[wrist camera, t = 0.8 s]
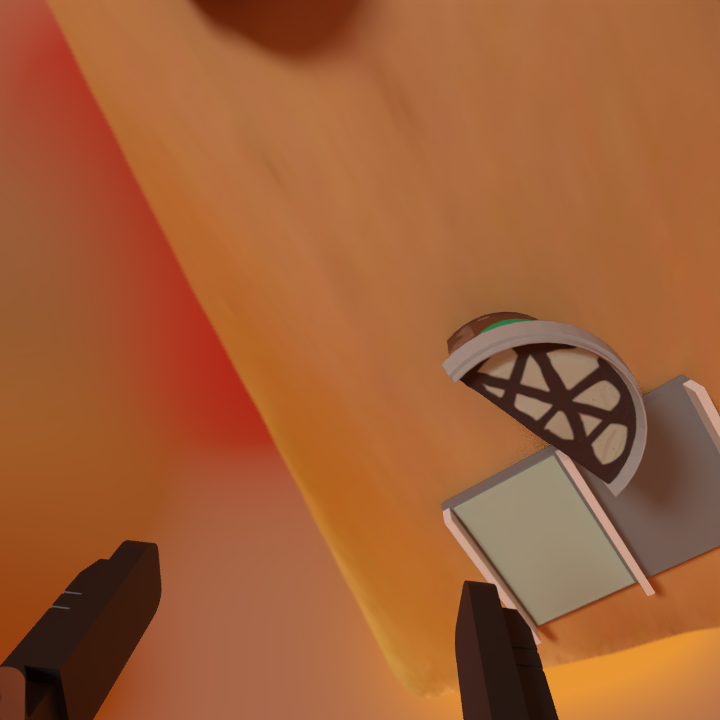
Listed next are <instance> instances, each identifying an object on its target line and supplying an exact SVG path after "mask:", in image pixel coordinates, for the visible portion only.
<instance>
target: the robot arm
mask: <svg viewBox="0 0 720 720" xmlns="http://www.w3.org/2000/svg"><path fill="white" fill-rule="evenodd" d="M160 598H161V577H160V565H159V553H158V547H157V545H156V544H155V543H148V542H139V541H130V540H127V541H124V542H123V543H122V544H121V545H120V546H119V548H118V549H117V550H116V551H115V553H114V554H113V555H112V556H111V557H110V559H109V560H106V559H99V560H98V561H97V562H95V563H93V564H92V565H90V566H89V567H87V568H86V569H85V570H83V571H82V572H80V573H79V574H78V576H77V577H76V578H75V579H74V580H73V581H72V582H71V584H70V585H69V586H68V587H67V588H66V590H65V592H64V594H61V595H60V596H59V598H58V599H57V600H56V601H55V602H54V603H53V606H52V608H49V609H48V611H47V612H46V613H45V614H44V615H43V616H42V618H41V619H40V620H39V621H38V622H37V623H36V625H35V626H34V627H33V628H32V629H31V630H30V632H29V633H28V634H27V635H26V636H25V637H24V639H23V640H22V641H21V642H20V643H19V644H18V646H17V647H16V648H15V649H14V650H13V651H12V653H11V654H10V655H9V656H8V657H7V658H6V660H5V661H4V662H3V663H2V664H1V665H0V720H93V719H94V717H95V715H96V713H97V712H98V710H99V708H100V707H101V705H102V703H103V702H104V700H105V698H106V697H107V695H108V693H109V691H110V690H111V688H112V687H113V685H114V683H115V681H116V680H117V678H118V676H119V675H120V673H121V671H122V669H123V668H124V666H125V664H126V662H127V661H128V659H129V658H130V656H131V654H132V652H133V651H134V649H135V647H136V646H137V644H138V642H139V641H140V639H141V637H142V636H143V634H144V632H145V630H146V629H147V627H148V625H149V624H150V622H151V620H152V619H153V617H154V615H155V613H156V611H157V608H158V605H159V602H160ZM455 652H456V661H457V669H458V678H459V686H460V694H461V702H462V711H463V719H464V720H559V719H558V716H557V713H556V709H555V706H554V703H553V700H552V696H551V693H550V690H549V686H548V683H547V680H546V676H545V673H544V671H543V666H542V663H541V660H540V657H539V654H538V653H537V647H536V643H535V640H534V637H533V633H532V630H531V628H530V626H529V625H528V624H527V622H526V621H525V620H524V618H523V617H522V616H521V614H520V613H519V611H518V610H517V609H510V608H502V606H501V602H500V598H499V594H498V590H497V587H496V585H495V584H492V583H483V582H475V581H465V582H464V584H463V589H462V595H461V601H460V606H459V612H458V617H457V623H456V631H455Z"/></svg>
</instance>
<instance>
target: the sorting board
mask: <svg viewBox="0 0 720 720" xmlns="http://www.w3.org/2000/svg"><path fill="white" fill-rule="evenodd" d="M642 397H643V401H644V404H645V409H646V420H647V437H646V445H645V449H644V453H643V456H642V459H641V462H640V464H639V466H638V468H637V470H636V472H635V474H634V475H633V477H632V478H631V480H630V481H629V483H628V484H627V486H626V487H625V488H624V489H623V490H622V491H621V492H620V493H619V495H618V496H617V497H615V496H614V494H613V493H612V492H611V491H610V490H609V488H608V487H607V486H606V485H605V484H604V482H603V481H602V480H601V479H600V478H598V477H597V476H596V475H594V474H593V473H591V472H590V471H588V470H587V469H586V468H584V467H583V466H581V465H580V464H578V463H577V462H576V461H574V460H573V459H571V458H570V457H568V456H567V455H566V454H564V453H563V452H561V451H560V450H558V449H557V448H555V447H554V446H552V445H550V446H548V447H546V448H545V449H543V450H541V451H539V452H537V453H535V454H533V455H531V456H530V457H528V458H526V459H524V460H522V461H520V462H518V463H517V464H515V465H513V466H511V467H509V468H507V469H505V470H503V471H502V472H500V473H498V474H496V475H494V476H492V477H490V478H489V479H487V480H485V481H483V482H481V483H479V484H477V485H475V486H474V487H472V488H470V489H468V490H466V491H464V492H462V493H461V494H459V495H457V496H455V497H453V498H451V499H449V500H447V501H446V502H444V503H442V510H443V516H444V522H445V524H446V526H447V527H448V528H449V530H450V531H451V532H452V534H453V535H454V537H455V538H456V539H457V541H458V542H459V543H460V545H461V546H462V547H463V549H464V550H465V551H466V553H467V554H468V555H469V557H470V558H471V559H472V561H473V562H474V564H475V565H476V566H477V568H478V569H479V570H480V572H481V573H482V574H483V576H484V577H485V578H486V580H487V581H488V582H489V583H492V584H495V585H496V587H497V590H498V594H499V597H500V599H501V600H502V601H503V603H504V604H505V605H506V607H507V608H510V609H517V610H518V611H519V613H520V614H521V616H522V617H523V618H524V620H525V621H526V622H527V624H528V625H529V626H530V628H531V630H532V633H533V637H534V640H535V643H536V645H538V644H540V643H542V642H541V639H540V636H539V633H538V630H537V627H538V626H540V625H543V624H545V623H547V622H549V621H552V620H554V619H556V618H558V617H561V616H563V615H565V614H567V613H570V612H572V611H574V610H576V609H579V608H581V607H583V606H585V605H588V604H590V603H592V602H594V601H597V600H599V599H601V598H603V597H606V596H608V595H610V594H612V593H615V592H617V591H619V590H621V589H624V588H626V587H628V586H630V585H633V584H635V583H637V582H639V583H640V585H641V586H642V588H643V589H644V591H645V592H646V594H647V596H650V595H652V594H655V592H654V590H653V588H652V587H651V585H650V584H649V582H648V581H647V579H646V578H648V577H651V576H653V575H655V574H657V573H660V572H662V571H664V570H666V569H669V568H671V567H673V566H675V565H678V564H680V563H682V562H684V561H687V560H689V559H691V558H693V557H696V556H698V555H700V554H702V553H705V552H707V551H709V550H711V549H714V548H716V547H718V546H720V416H719V414H718V412H717V411H716V409H715V407H714V405H713V403H712V401H711V399H710V397H709V395H708V394H707V392H706V390H705V388H704V387H703V386H701V385H699V384H698V383H696V382H694V381H692V380H691V379H689V378H687V377H686V376H684V375H681V376H679V377H677V378H675V379H673V380H671V381H670V382H668V383H666V384H664V385H662V386H660V387H658V388H657V389H655V390H653V391H651V392H649V393H647V394H645V395H643V396H642Z"/></svg>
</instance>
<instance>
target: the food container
mask: <svg viewBox="0 0 720 720" xmlns="http://www.w3.org/2000/svg"><path fill="white" fill-rule="evenodd" d="M447 344H448V351H449V358H448V359H447V360H446V361H445V362H444V363H443V364H442V366H443V367H444V369H445V371H446V372H447V374H448V376H450V377H451V378H452V380H453V382H454V383H456V382H457V381H458V380H461V381H462V382H464V383H465V384H466V385H467V386H469V387H471V388H473V389H474V390H476V391H477V392H479V393H480V394H481V395H483V396H484V397H486V398H487V399H488V400H490V401H491V402H492V403H494V404H495V405H497V406H498V407H499V408H501V409H502V410H504V411H505V412H506V413H508V414H509V415H510V416H512V417H513V418H514V419H516V420H517V421H518V422H520V423H521V424H522V425H524V426H525V427H526V428H528V429H529V430H530V431H532V432H533V433H535V434H536V435H537V436H539V437H540V438H542V439H543V440H545V441H546V442H548V443H549V444H551V445H552V446H554V447H555V448H557V449H558V450H560V451H561V452H563V453H564V454H566V455H567V456H568V457H570V458H571V459H573V460H574V461H576V462H577V463H578V464H580V465H581V466H583V467H584V468H586V469H587V470H588V471H590V472H591V473H593V474H594V475H596V476H597V477H598V478H600V479H601V480H602V481H603V482H604V484H605V485H606V486H607V487H608V488H609V490H610V491H611V492H612V493H613V494H614V496H615V497H617V496H618V495H619V493H620V492H621V491H622V490H623V489H624V488H625V487H626V486H627V484H628V483H629V481H630V480H631V478H632V477H633V475H634V474H635V472H636V470H637V468H638V466H639V464H640V462H641V459H642V456H643V453H644V449H645V445H646V437H647V420H646V409H645V404H644V401H643V397H642V393H641V391H640V389H639V387H638V385H637V383H636V381H635V379H634V377H633V375H632V374H631V372H630V370H629V369H628V367H627V366H626V364H625V363H624V362H623V360H622V359H621V358H620V356H619V355H618V354H617V353H616V352H615V351H614V350H613V349H612V348H611V347H610V346H609V345H608V344H607V343H605V342H604V341H603V340H601V339H600V338H598V337H596V336H595V335H593V334H592V333H590V332H588V331H585V330H583V329H580V328H578V327H575V326H573V325H568V324H564V323H560V322H554V321H540V320H537V319H535V318H533V317H530V316H528V315H525V314H520V313H516V312H499V313H492V314H488V315H484V316H481V317H479V318H477V319H474V320H472V321H470V322H469V323H467V324H465V325H464V326H462V327H461V328H460V329H459V330H457V331H456V332H455V333H454V334H453V335H452V336H451V337H450V338H449V340H448V341H447Z"/></svg>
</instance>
